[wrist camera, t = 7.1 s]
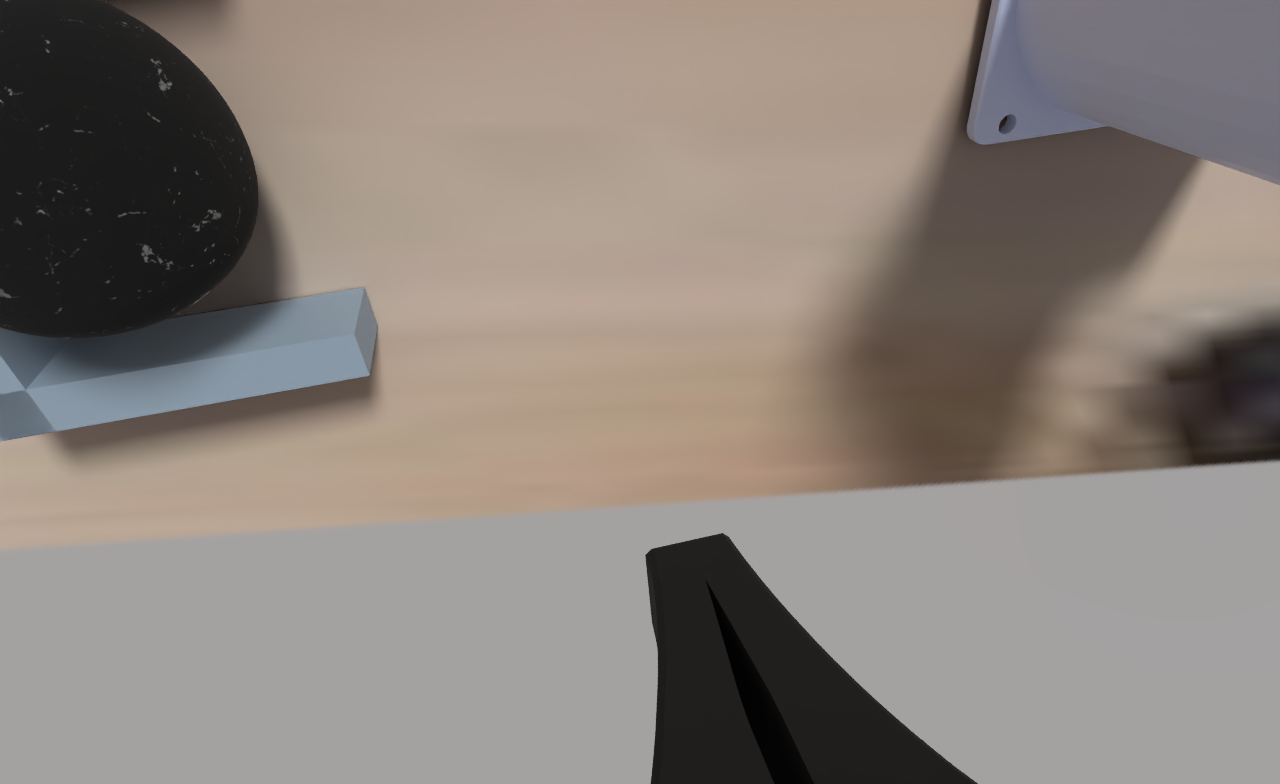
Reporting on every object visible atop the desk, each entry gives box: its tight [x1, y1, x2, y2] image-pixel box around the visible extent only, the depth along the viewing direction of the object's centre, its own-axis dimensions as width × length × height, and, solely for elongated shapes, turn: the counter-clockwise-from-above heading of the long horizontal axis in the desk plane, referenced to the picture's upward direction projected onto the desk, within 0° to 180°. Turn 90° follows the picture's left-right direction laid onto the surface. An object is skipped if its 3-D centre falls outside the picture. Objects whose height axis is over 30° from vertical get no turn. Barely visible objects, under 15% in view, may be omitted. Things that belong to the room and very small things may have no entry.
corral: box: [0, 287, 378, 441], centre depth 14 cm, size 8×11×2 cm
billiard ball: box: [0, 0, 258, 339], centre depth 13 cm, size 6×6×6 cm
